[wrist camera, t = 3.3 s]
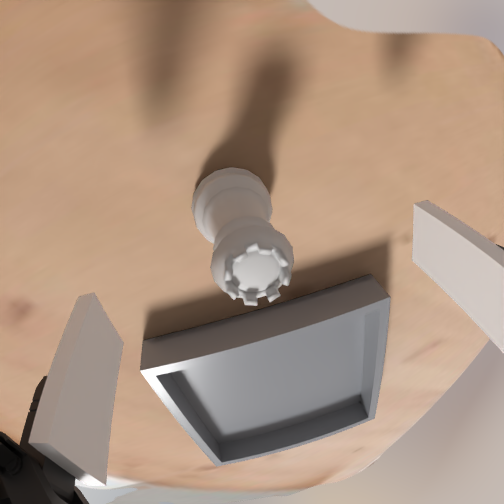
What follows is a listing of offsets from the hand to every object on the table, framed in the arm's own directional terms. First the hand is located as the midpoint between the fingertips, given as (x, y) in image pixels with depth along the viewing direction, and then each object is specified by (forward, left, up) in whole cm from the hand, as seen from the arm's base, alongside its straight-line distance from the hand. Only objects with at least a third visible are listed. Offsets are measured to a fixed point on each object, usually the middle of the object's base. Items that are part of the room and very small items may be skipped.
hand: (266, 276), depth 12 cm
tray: (+17, 0, -8) cm, 18 cm away
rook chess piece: (0, 0, -8) cm, 8 cm away
